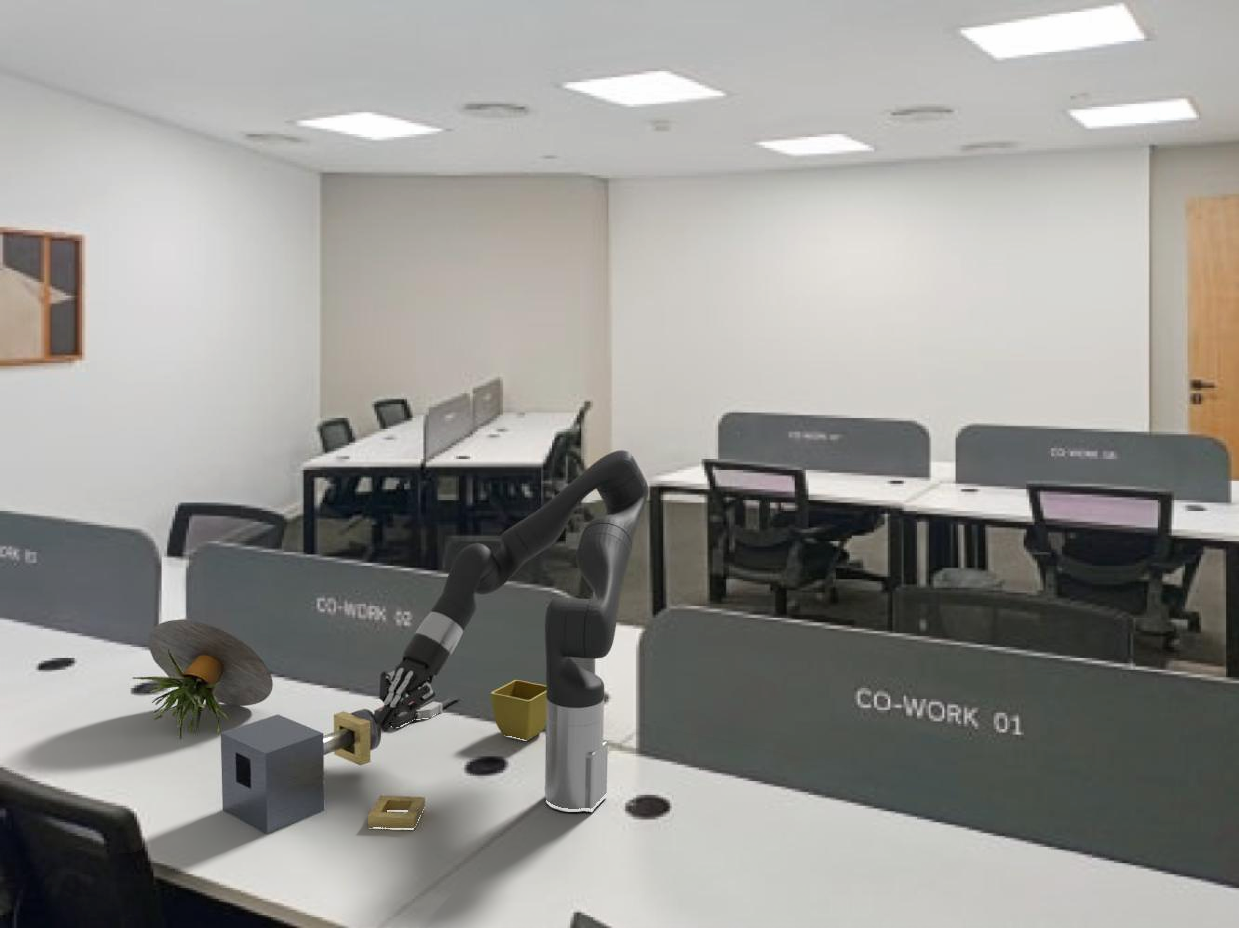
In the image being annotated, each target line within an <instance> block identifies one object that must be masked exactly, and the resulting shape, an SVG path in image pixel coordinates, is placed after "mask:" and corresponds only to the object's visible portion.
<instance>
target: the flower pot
mask: <svg viewBox="0 0 1239 928" xmlns="http://www.w3.org/2000/svg"><path fill="white" fill-rule="evenodd" d="M546 691H547V688H546V685H545V684H540V683H539V684H538V683H534V682H529V681H524V680H520V679H519V680H518V679H514V680H512V681H511V682H508V683H506V684H504V685H503V686H500V687H499V688H497V689H495V690H493V691H491V692H490V699H491V705H492V706H491V707H492V712H493V716H494V721H495V723H496V726H497V728H498V730H499V731H500V733H501V734H502V735H503V736H504V735H505V736H512V737H516V738H520V739H524V740H528V739H530V738H531V737H533V736H535V735H537V734H538V735H540V734H541V733H542V731H543V730H544V728H546V698H547V697H546ZM538 735H537V736H538ZM505 736H504V737H505ZM535 737H536V736H535ZM533 738H534V737H533ZM530 740H531V739H530Z"/></svg>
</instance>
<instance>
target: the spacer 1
mask: <svg viewBox="0 0 1239 928" xmlns="http://www.w3.org/2000/svg"><path fill="white" fill-rule="evenodd" d="M343 728H347V729H350V730H352V731H355V747H354V746H352V745H350V746H347V747H345V748H342V749H339V750H337V751H334V752H333V755H335V756H337V757H339V758H342V759H344V760H346V761H348V762H351V763H354V764H355V765H358V766H361V767H362V766H364V765H366V764H368V763H371V751H370V721H368V720H365V719H363V718H360V717H357V716H355V715H352V714H351V713H349V712H347V711H344V710H343V711H340V712H336V713H334V714H333V732H335V731H338V730H341V729H343Z"/></svg>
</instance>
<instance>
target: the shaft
mask: <svg viewBox="0 0 1239 928" xmlns="http://www.w3.org/2000/svg"><path fill="white" fill-rule="evenodd" d="M350 714H352V715H355V716H357V717H360V718H363V719H365V720H368V721H370V752H371V751H373V750H375V749H377V748H378V747H379V745H380V743H381V739H382V730H381V729H380V725H379V722H378V720H377V718H376V716H375V715H374V713H373V712H372V711H371V710H369V709H367V708H361V709H359V710H356V711H354V712H351V713H350ZM350 745H352V746H354V747H355V731H352V730H350V729H347V728H343V729H341V730H338V731H335V732H334V731H332V732H330V733H327V734H323V749H324V756H326V755H329V754H332V753H334V751H337V750H339V749H342V748H345V747H347V746H350Z"/></svg>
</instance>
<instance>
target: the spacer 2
mask: <svg viewBox="0 0 1239 928" xmlns="http://www.w3.org/2000/svg"><path fill="white" fill-rule="evenodd" d="M424 807H425V808H426V797H425V796H407V795H405V796H404V795H403V796H402V795H400V796H399V795H380V796H379V798H378V799H377V801H376V803H375V804H374V805H373V807H372V809H371V811H370V812H369V814H368V816H367V828H368V827H369V828H373V827H381V828H382V827H383V828H385V827H386V828H414V827H415V826H416V824H417V822H418V819H419V817H420V815H421V814H422V811H423V809H424ZM387 810H408V812H407V813H392V812H387ZM422 815H423V814H422ZM418 823H419V822H418ZM417 825H418V824H417ZM416 827H417V826H416Z"/></svg>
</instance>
